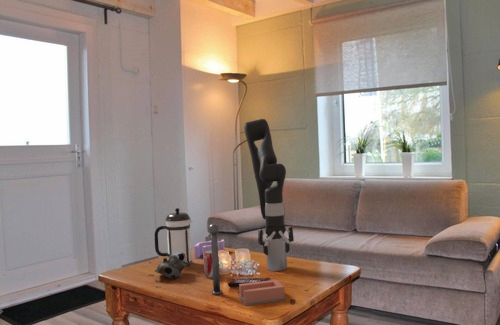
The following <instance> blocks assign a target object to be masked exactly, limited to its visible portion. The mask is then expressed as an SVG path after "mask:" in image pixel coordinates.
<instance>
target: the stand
mask: <svg viewBox="0 0 500 325" xmlns="http://www.w3.org/2000/svg"><path fill="white" fill-rule="evenodd" d="M219 231H220V227H219V226H218V225H217V223H216V224H215V223H212V224H210V225H209V226H208V232H209V234H210V240H211V251H212V271H213V278H212V284H213V285H212V287H213V290H211V296H220V295H222V294H223V290H222V289H221V281H220V280H221V278H220V257H219V256H218V239H219V238H218V233H219Z"/></svg>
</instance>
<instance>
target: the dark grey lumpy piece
mask: <svg viewBox="0 0 500 325" xmlns="http://www.w3.org/2000/svg"><path fill="white" fill-rule="evenodd" d="M162 260H163V261H162V262H161V263H159V264H158V265H157V266H156V269H155V270H154V272H156V273H157V274H161V275H162V276H165V277H167V278H169V279H172V278H173V280H177V279H179V278H181V276H182V271H183V270H184V269H185V268H186V266H187V265H186V257H185V254H184V253H179V252H176V253H173V254H171V255H170V257H169V259H168V257H163V258H162Z"/></svg>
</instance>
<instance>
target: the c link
mask: <svg viewBox="0 0 500 325" xmlns="http://www.w3.org/2000/svg"><path fill="white" fill-rule="evenodd" d="M238 287H239V289H238V290H239V295H240V296H241V297H244V302H245V303H253V302H260V301H267V300H275V299H282V298H284V299H286V296H285V294H286V292H285V286H284V285H283V284H282V283H281V282H280V281H279V280H278V279H271V280H270V279H269V280H264V281H263V280H262V281H255V282H247V283H246V282H245V283H239V284H238Z"/></svg>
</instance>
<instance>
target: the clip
mask: <svg viewBox="0 0 500 325" xmlns="http://www.w3.org/2000/svg"><path fill="white" fill-rule="evenodd" d="M225 249H226V248H225V239H221V240H219V238H218V251H219V250H225ZM207 250H211V239H210V240H209V241H201V242H198V243H196V244H195V245H193V258H194V259H199V258H201V256H203V257H202V258H203V260H204V254H205V251H207Z"/></svg>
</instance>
